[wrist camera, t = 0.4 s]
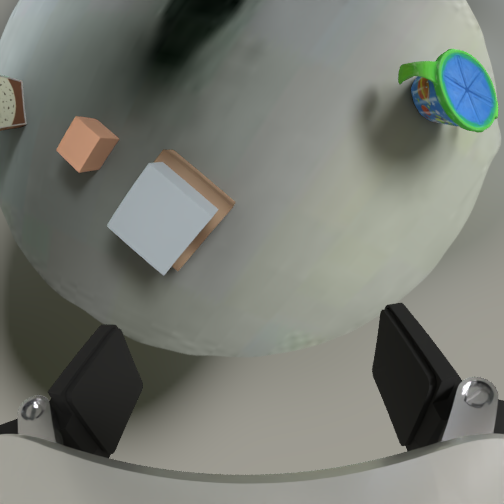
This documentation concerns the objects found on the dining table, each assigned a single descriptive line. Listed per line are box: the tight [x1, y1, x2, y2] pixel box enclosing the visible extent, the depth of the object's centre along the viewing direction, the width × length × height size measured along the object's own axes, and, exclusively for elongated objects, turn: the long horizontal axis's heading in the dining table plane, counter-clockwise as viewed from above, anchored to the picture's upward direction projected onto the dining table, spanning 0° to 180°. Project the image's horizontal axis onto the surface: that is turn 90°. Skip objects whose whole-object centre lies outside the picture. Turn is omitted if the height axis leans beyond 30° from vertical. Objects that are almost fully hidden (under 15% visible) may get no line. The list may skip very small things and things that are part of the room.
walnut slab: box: [154, 150, 235, 271], centre depth 36 cm, size 11×11×4 cm
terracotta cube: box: [57, 116, 119, 173], centre depth 33 cm, size 6×6×6 cm
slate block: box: [107, 162, 219, 276], centre depth 32 cm, size 9×9×4 cm
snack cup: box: [398, 49, 498, 132], centre depth 26 cm, size 16×10×10 cm
